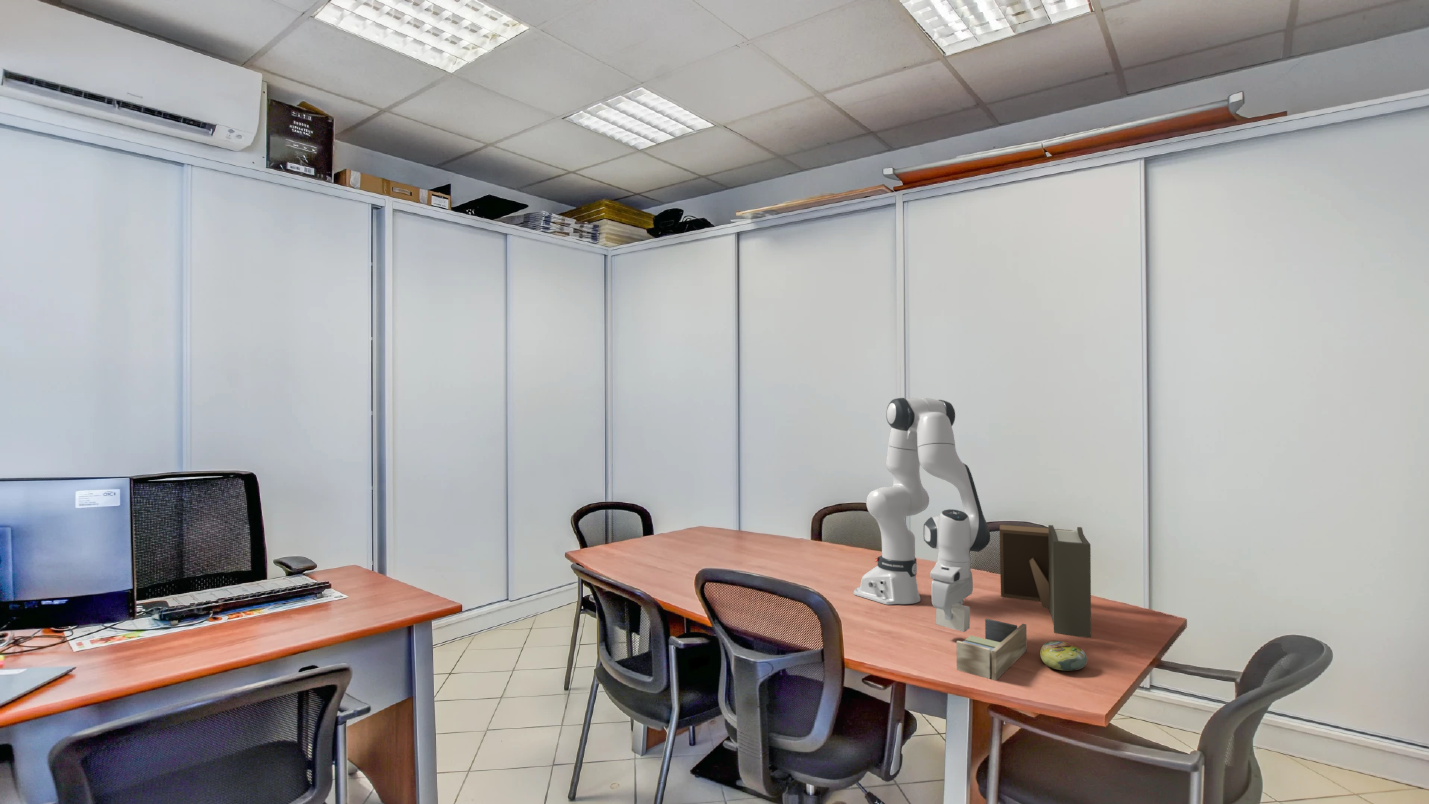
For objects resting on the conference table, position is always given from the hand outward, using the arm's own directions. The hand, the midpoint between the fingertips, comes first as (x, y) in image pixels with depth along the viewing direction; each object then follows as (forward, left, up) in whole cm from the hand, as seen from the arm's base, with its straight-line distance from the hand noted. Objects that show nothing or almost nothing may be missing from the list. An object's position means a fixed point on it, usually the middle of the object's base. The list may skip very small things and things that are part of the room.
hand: (952, 616), depth 176 cm
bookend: (+12, +6, -6) cm, 15 cm away
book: (+21, +36, -7) cm, 42 cm away
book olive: (+12, -11, -7) cm, 18 cm away
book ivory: (0, 0, -3) cm, 3 cm away
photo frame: (+8, +50, -7) cm, 52 cm away
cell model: (+27, +2, -7) cm, 28 cm away
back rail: (+12, -7, -7) cm, 16 cm away
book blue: (+12, -16, -7) cm, 21 cm away
